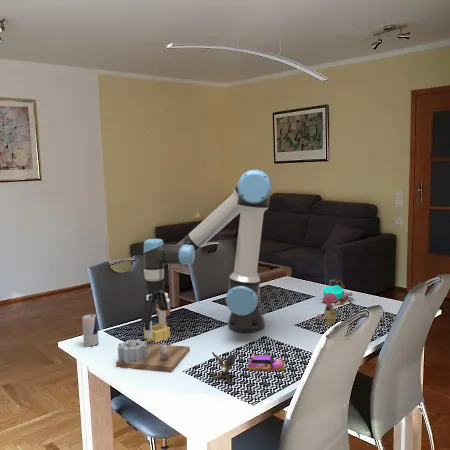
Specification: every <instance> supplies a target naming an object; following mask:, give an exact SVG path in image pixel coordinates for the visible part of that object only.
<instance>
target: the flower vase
mask: <svg viewBox="0 0 450 450" xmlns="http://www.w3.org/2000/svg"><path fill="white" fill-rule="evenodd" d="M342 293H343V296H342V298H346V299H347V300H348V302H349V303H350V305H351V306H352V307H353V308H354V309H357V307H356V305H354V303H353V302H352V301H351V300H350V299H349V296H348V293H349V292H345V291H344V292H342ZM322 300H323V301H324V302H325V304H324V305H326V307H325V308H324V314H323V315H322V314H321V313H318V314H317V315H316V317H317V318H318V319H322V318H324V319H325V323H324V324H325V325H326V326H333V325H335V324H336V323H335V322H336V321H335V320H336V319H337V318H338V316H337V315H336V314H337V313H336V310H335V308H336V305H335V304H339V303H340V301H339V300H340V299H338V298H336V296H335V295H334V294H333V293H327V294H326V295H325V296H324V295H323V297H322V298H321V301H322ZM336 301H338V302H337V303H336ZM332 324H333V325H332Z"/></svg>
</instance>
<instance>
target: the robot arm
mask: <svg viewBox="0 0 450 450" xmlns="http://www.w3.org/2000/svg"><path fill="white" fill-rule="evenodd" d="M271 190H272V180H271V178H270V176H269V175H268V173H267V172H265V171H263V170H261V169H249V170H248V171H245V172H244V173H243V174H242V175H241V176H240V178H239V180H238V182H237V185H236V186H235V188H234V189H233V193H232V194H231V195H230V196H229V197H227V198H226V199H224V201H223V202H222V203H221V204H219V205H218V207H217V208H215V210H213V211H212V212H211V213H210V214H209V215H208V216H207V217H205V218H204V219H203V220H202V221H201V222H200V223H199V224H198V225H197V226H195V228H193V229H192V230H191V231H190V232H189V233H188V234H187V235H186V236H184V237H183V239H181V240H180V241H179V242H178V243H176V244H165V243H164V241H163V239H161V238H149V239H146V240H144V242H143V251H142V253H143V267H144V268H143V275H144V279H145V280H144V289H145V290H146V291H148V294H144V300H143V301H144V302H143V309H142V314H141V319H140V321H141V322H143V323H144V329H145V338H152V326H153V321H152V317H153V313H154V309H155V306H156V303H157V305H158V307H159V309H160V310H159V316H158V324H159V325H164V324H165V325H167V320H166V319H167V316H166V311H165V310H168V304H167V300H166V296H165V293H166V292H165V279H164V278H165V268H164V267H165V266H164V265H184V266H186V265H193V264H194V261H195V259H196V253H197V252H198V251H199V250H200V249H201V248H203V246H205V244H207V242H209V241H210V240H211V239H212V238H213V237H215V235H217V234H218V233H219V232H221V230H222V229H224V227H226V226H227V225H228V224H229V223H230V222H231V221H232V220H233V219H234V218H236V217H237V216H238V215H239V223H238V224H239V225H238V231H237V233H238V234H237V243H236V250H235V251H236V252H235V262H234V270H233V272H232V273H231V274H230V275H229V280H228V289H227V293H226V295H225V303H226V306H227V308H228V310H229V311H230V315H229V317H228V322H227V325H228V328H227V329H228V330H230V331H232V332H234V333H238V334H241V333H242V334H252V333H257V332H260V331H262V330H264V329H265V327H266V325H265V324H266V323H265V318H264V316H263V312H262V310H261V289H260V288H261V287H260V286H261V285H260V282H261V279H260V274H259V273H258V266H259V265H258V264H259V256H260V247H261V242H262V241H261V239H262V232H263V231H262V230H263V223H264V222H263V221H264V214H265V212H266V211H267V210H269V206H270V205H269V204H270V198H271Z"/></svg>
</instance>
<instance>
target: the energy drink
mask: <svg viewBox="0 0 450 450" xmlns="http://www.w3.org/2000/svg"><path fill="white" fill-rule="evenodd" d="M81 321H82V337H83V347H84V346H85V347H84V348H86V347H92V348H94V347H93V346H96V347H98V346H99V344H100V343H99V330H98V329H99V328H98V327H99V326H98V317H97V315H96V314H93V313H91V314H85V315H83V316H82V318H81ZM97 345H98V346H97Z"/></svg>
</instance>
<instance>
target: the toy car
mask: <svg viewBox="0 0 450 450" xmlns="http://www.w3.org/2000/svg"><path fill="white" fill-rule="evenodd" d="M247 369H248V370H253V371H255V372H256V371H272V372H273V371H276V372H280V371H285V363H284V360H283V359H279V358H273V357H272V356H271V355H270V354H269V355H267V354H266V355H261V354H259V355H258V354H257V355H255V353H254V352H253V353H252V354H251V357H250V359H248V362H247Z"/></svg>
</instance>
